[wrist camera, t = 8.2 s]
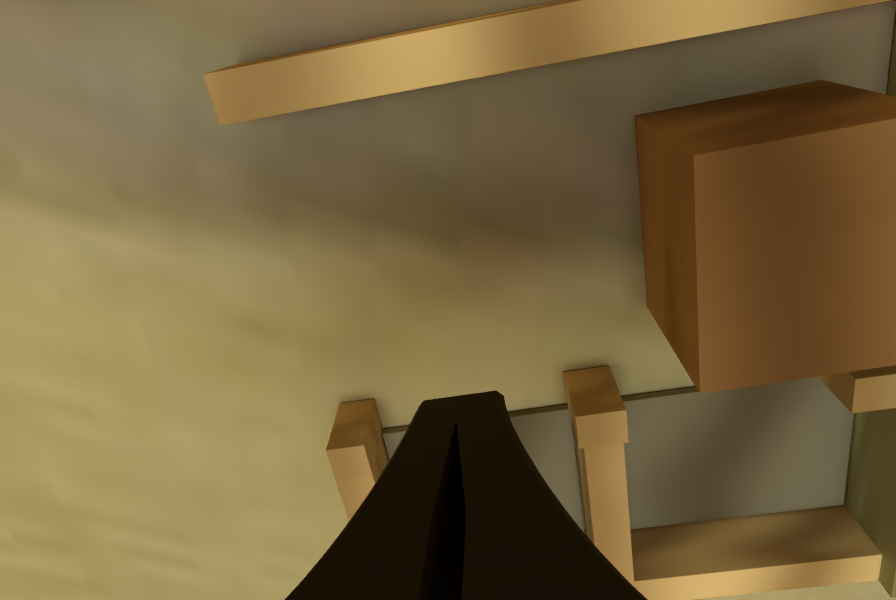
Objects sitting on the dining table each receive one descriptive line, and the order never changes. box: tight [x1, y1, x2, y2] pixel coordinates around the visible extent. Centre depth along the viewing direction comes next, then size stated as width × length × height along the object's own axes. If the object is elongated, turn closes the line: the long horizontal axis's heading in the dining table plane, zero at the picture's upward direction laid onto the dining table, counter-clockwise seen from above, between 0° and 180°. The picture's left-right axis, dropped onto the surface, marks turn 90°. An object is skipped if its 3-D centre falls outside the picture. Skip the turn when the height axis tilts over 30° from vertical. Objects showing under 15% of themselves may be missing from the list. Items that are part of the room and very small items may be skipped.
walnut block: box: [635, 80, 896, 394], centre depth 16 cm, size 5×6×5 cm
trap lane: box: [203, 0, 896, 600], centre depth 19 cm, size 18×20×3 cm
